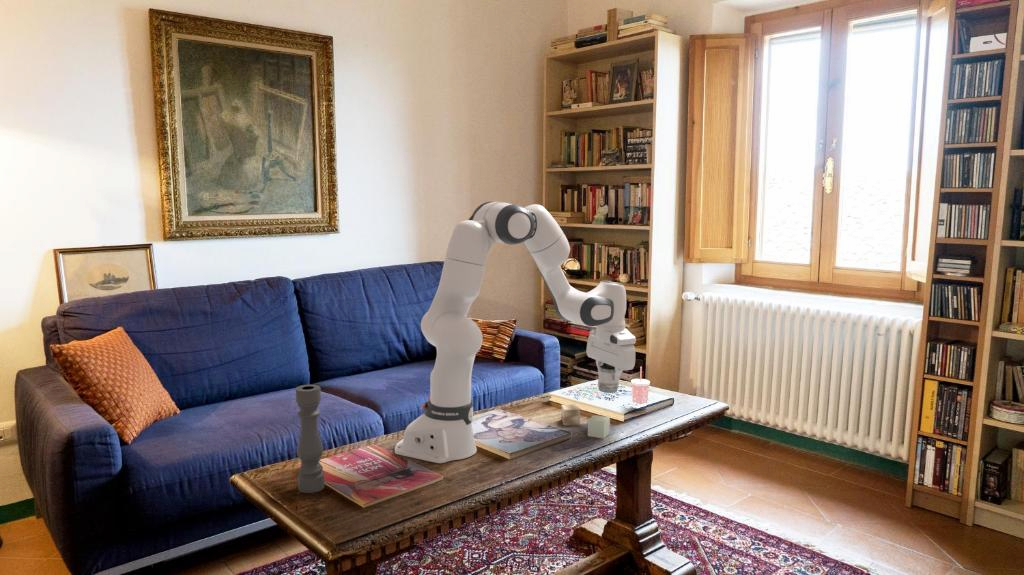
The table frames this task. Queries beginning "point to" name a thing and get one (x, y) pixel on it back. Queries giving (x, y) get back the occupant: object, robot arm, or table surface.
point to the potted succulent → (607, 379)
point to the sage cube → (598, 426)
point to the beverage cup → (640, 389)
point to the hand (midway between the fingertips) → (608, 377)
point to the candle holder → (309, 440)
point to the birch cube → (570, 414)
